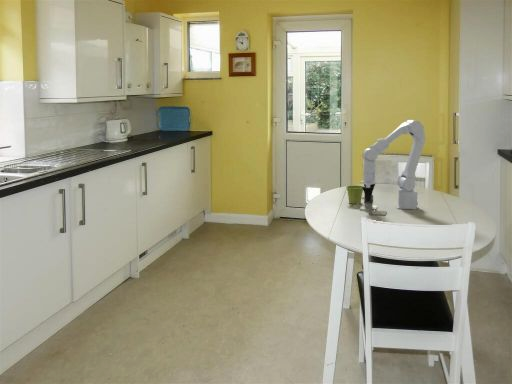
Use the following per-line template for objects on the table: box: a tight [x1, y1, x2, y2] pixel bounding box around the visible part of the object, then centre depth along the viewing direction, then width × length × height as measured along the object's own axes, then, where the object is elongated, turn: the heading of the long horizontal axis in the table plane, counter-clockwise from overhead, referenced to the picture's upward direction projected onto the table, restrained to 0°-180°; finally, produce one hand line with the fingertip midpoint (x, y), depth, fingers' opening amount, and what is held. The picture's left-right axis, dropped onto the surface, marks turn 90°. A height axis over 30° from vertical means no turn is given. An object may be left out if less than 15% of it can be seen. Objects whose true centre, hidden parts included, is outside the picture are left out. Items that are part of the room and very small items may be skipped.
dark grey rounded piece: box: [361, 194, 374, 205], centre depth 282 cm, size 6×4×4 cm
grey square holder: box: [359, 204, 378, 211], centre depth 282 cm, size 8×8×3 cm
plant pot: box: [345, 184, 365, 205], centre depth 296 cm, size 9×9×9 cm
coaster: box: [368, 210, 387, 217], centre depth 272 cm, size 8×8×1 cm
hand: (368, 199), depth 282 cm, fingers open, 7 cm apart
